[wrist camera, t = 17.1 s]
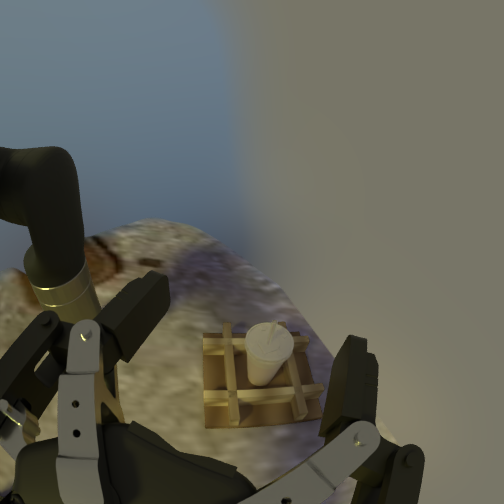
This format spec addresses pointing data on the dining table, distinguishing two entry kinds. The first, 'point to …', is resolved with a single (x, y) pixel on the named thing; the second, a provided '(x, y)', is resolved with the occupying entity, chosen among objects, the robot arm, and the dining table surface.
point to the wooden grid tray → (249, 395)
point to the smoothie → (266, 351)
